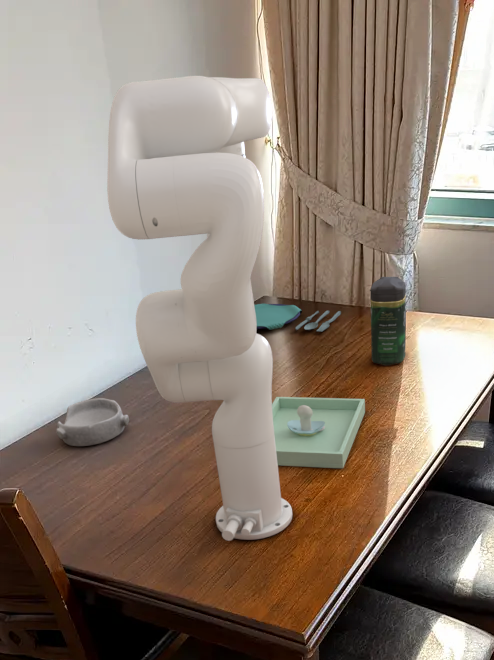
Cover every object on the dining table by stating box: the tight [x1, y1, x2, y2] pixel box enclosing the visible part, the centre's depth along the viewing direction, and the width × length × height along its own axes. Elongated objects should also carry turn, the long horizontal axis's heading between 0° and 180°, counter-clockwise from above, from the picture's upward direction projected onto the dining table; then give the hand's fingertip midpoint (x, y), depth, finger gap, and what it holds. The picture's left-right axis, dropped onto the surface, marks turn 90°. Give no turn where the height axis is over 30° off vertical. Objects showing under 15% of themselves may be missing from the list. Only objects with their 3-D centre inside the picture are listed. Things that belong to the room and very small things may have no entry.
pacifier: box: [287, 405, 325, 436], centre depth 150 cm, size 7×6×6 cm
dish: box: [55, 397, 130, 447], centre depth 160 cm, size 14×14×5 cm
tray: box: [272, 396, 366, 469], centre depth 150 cm, size 24×19×3 cm
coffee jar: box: [369, 276, 407, 366], centre depth 177 cm, size 10×8×19 cm
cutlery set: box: [254, 302, 342, 333], centre depth 210 cm, size 20×30×2 cm, turn 64°
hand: (236, 274), depth 135 cm, fingers open, 9 cm apart
